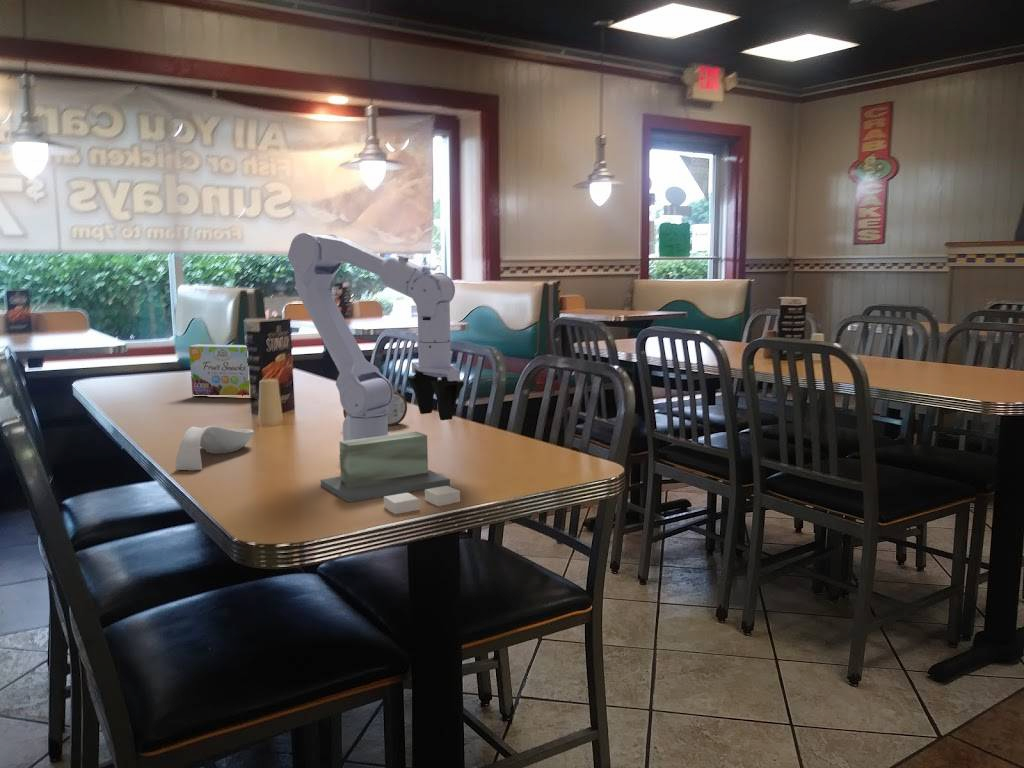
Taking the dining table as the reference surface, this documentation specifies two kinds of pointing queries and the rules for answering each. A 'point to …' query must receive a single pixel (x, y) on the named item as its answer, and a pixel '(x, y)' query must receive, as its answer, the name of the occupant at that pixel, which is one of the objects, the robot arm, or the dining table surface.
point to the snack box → (219, 369)
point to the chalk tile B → (442, 495)
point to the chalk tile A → (401, 503)
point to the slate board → (384, 487)
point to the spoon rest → (209, 444)
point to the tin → (394, 409)
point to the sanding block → (383, 459)
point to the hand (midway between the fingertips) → (435, 416)
